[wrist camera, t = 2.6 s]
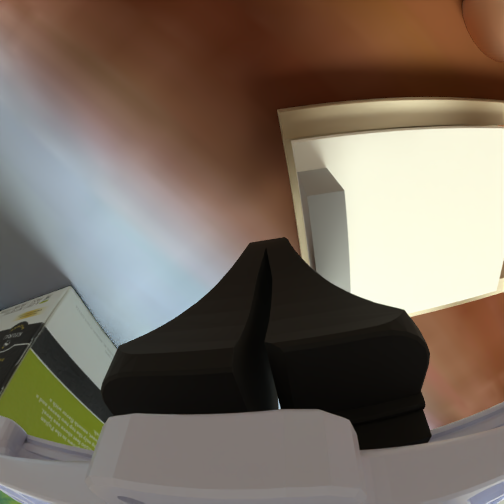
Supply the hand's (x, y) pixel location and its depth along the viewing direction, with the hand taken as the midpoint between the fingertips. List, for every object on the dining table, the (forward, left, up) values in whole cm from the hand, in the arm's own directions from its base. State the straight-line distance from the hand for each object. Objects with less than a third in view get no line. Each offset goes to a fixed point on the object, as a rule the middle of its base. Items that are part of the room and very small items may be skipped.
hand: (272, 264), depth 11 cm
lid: (-6, 0, -1) cm, 6 cm away
